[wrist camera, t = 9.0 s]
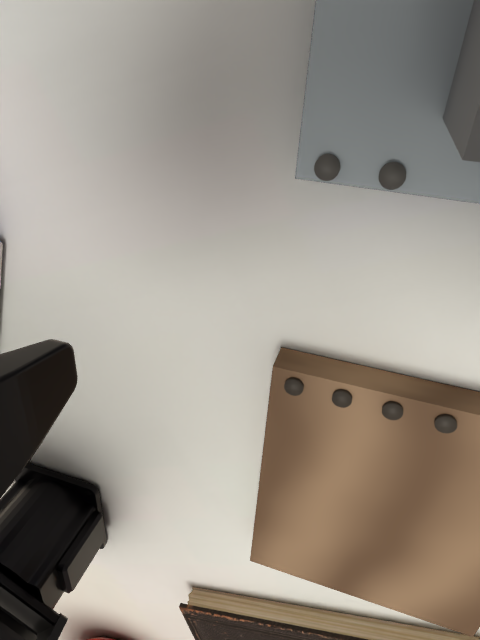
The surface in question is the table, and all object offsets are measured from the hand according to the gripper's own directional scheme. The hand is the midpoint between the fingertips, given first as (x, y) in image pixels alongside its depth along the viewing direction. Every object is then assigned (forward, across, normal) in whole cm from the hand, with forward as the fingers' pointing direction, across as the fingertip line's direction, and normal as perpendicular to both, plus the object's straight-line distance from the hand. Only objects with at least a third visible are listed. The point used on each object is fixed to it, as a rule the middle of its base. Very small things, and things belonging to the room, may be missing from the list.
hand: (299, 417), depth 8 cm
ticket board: (+11, -4, +13) cm, 17 cm away
